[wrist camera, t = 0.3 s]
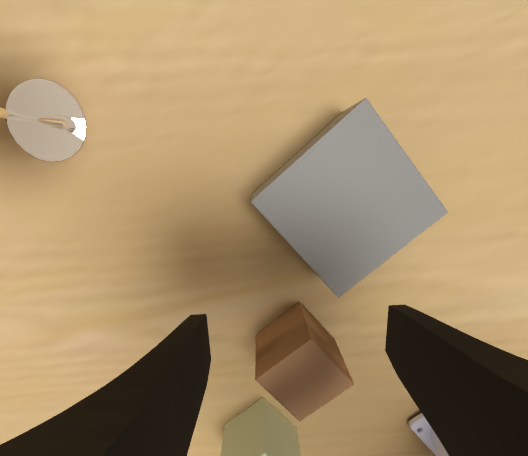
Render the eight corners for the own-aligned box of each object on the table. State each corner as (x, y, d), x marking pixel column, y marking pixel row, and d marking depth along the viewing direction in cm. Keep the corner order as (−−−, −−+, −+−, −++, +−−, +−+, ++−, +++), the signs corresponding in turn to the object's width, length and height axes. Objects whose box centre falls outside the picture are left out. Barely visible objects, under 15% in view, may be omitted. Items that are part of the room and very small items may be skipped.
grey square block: (408, 202, 19) (448, 212, 15) (322, 271, 20) (338, 297, 16) (341, 112, 17) (366, 97, 13) (251, 193, 18) (250, 201, 14)
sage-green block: (296, 426, 23) (305, 487, 19) (258, 452, 24) (258, 517, 20) (263, 396, 22) (264, 452, 18) (224, 424, 23) (217, 485, 19)
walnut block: (334, 338, 21) (353, 384, 17) (291, 369, 22) (299, 421, 17) (299, 301, 20) (311, 338, 16) (256, 334, 21) (255, 379, 17)
